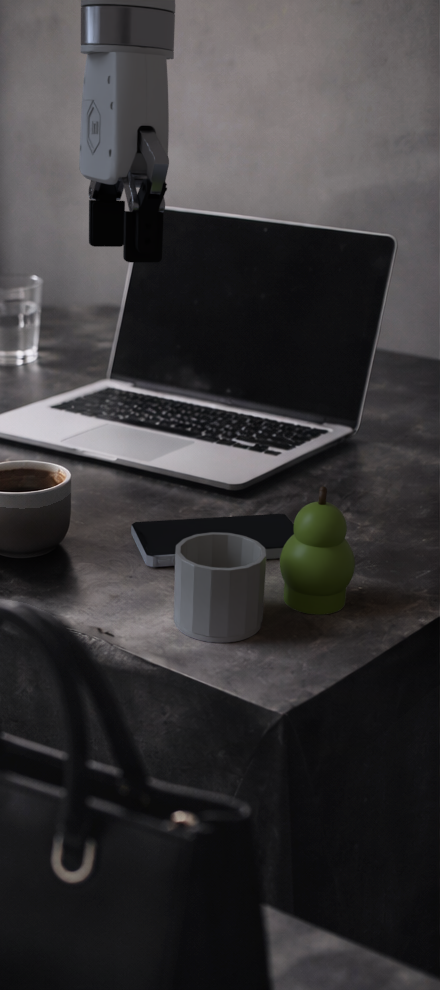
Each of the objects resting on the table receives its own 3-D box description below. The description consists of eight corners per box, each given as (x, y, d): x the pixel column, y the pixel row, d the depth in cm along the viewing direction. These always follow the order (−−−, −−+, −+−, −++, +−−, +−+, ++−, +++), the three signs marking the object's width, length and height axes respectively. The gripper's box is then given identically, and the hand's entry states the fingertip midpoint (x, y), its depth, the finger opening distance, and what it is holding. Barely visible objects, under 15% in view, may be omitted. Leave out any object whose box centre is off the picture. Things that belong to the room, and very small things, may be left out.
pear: (279, 616, 77) (288, 499, 73) (275, 582, 82) (282, 472, 79) (356, 619, 77) (367, 501, 73) (345, 585, 82) (356, 474, 79)
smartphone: (313, 546, 87) (147, 557, 83) (312, 558, 88) (147, 570, 83) (283, 512, 94) (130, 521, 90) (282, 523, 95) (130, 533, 91)
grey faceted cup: (172, 641, 72) (174, 568, 70) (175, 599, 79) (176, 531, 77) (264, 644, 73) (268, 571, 70) (259, 602, 79) (263, 533, 77)
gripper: (54, 37, 85) (55, 240, 91) (116, 26, 70) (113, 269, 76) (136, 45, 87) (132, 241, 94) (213, 35, 73) (202, 268, 79)
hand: (123, 253), depth 85 cm, fingers open, 9 cm apart
